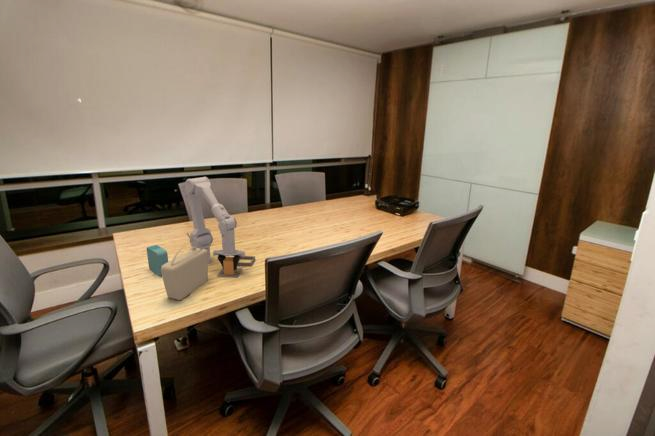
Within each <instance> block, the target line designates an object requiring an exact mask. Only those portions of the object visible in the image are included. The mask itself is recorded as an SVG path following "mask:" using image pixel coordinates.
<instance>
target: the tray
mask: <svg viewBox="0 0 655 436" xmlns="http://www.w3.org/2000/svg"><path fill="white" fill-rule="evenodd" d="M240 260H248V261H250V260H251V261H250V262H245V261H244V262H240ZM255 261H256V256H254V255H253V256H251V255H245V256H244V257H242V256H240V258H239V261H238V264H237V267H253V265H254V263H255Z"/></svg>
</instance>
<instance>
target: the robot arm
mask: <svg viewBox="0 0 655 436" xmlns="http://www.w3.org/2000/svg"><path fill="white" fill-rule="evenodd" d="M184 187H185V192H186V193H185V194H186V196H187V198H188V203H189V207H190V212H191V213H190V215H191V219H192V223H193V229H192V231H191V232H190V233H189V236H190V238H191V239H192V241H193V243H195V244H194V245H195V246H196V248H199V249H201V248H200V247H199V246H198V245H200V246H201V247H202V248H203V249H206V250H207V251H208V265H209V264H210V263H211V262H212V257H211V246H212V244H213V242H214V238H213V235H212V232H211V229H209V228H207V227H206V222H205V217H204V212H203V207H202V199H201V196H203V198H204V199H205V200H206V202H208V204H209V206H211V210H210V211H211V213H212V214H213V216H214V217H215V219H216V221H217V222H218V223H217V226H218V229H219V233H220V235H221V246H222V249H218V250H217V249H215V250H213V251H212V256H213V257H215V256H217V260H218V261H219V263H220V264H221V267H222V269H223V270H224V266H223V260H224V259H225V258H226V257H233V262H234V271H236V269H237V268H238V266H237V264H238V262H240V260H239V258H240V256H242V257H244V256H246V251H245V250H244V251H243V250H240V249H239V250H237V249H236V241H235V240H236V239H235V237H236V236H235V229H236V228H237V225H238V223H237V220H236V218H235V216H233V215H231V214H229V212H228V211H227V209H226V208H225V206H224V205H223V204H222V203H219V202H218V200H217V198H216V195H215V194H214V192H213V190H212V189H211V188H212V183H211V181H210V180H209V177H207V176H203V177H202V176H201V177H195V178H187V179H186V180H185V182H184ZM189 243H192V242H191V241H190V240H189ZM196 244H198V245H196ZM190 246H191V247H190V248H189V251H190V250H192V247H193V244H190Z"/></svg>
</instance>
